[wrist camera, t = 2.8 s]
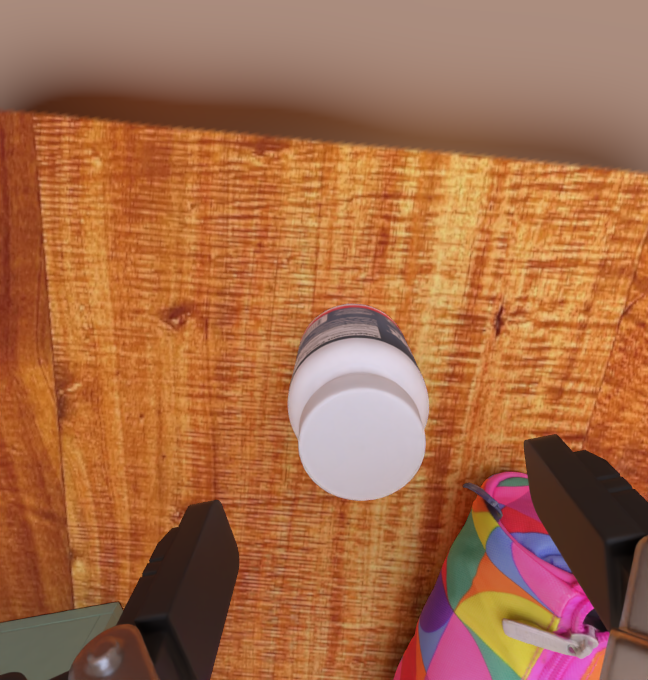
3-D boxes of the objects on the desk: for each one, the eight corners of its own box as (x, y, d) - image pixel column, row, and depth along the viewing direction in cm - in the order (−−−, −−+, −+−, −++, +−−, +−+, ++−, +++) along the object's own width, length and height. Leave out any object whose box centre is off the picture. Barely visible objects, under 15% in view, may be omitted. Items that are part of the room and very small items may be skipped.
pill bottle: (413, 392, 23) (458, 507, 15) (312, 410, 24) (299, 532, 15) (396, 291, 22) (435, 355, 13) (288, 312, 22) (259, 388, 14)
